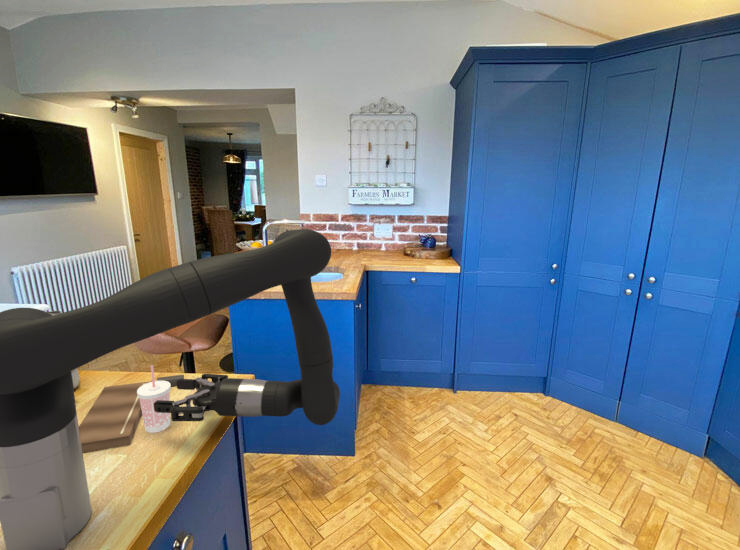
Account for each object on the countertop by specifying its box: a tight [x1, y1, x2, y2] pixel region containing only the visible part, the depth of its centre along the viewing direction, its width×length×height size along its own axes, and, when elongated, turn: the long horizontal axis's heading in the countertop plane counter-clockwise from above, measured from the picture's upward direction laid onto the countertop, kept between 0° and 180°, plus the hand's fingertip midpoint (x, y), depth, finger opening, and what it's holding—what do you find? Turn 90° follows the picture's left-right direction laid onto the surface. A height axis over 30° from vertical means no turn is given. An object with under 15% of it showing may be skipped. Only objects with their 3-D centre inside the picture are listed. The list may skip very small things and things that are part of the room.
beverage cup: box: [137, 364, 172, 433], centre depth 75 cm, size 6×6×14 cm
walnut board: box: [79, 374, 185, 453], centre depth 81 cm, size 24×17×2 cm
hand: (166, 394), depth 75 cm, fingers open, 8 cm apart
